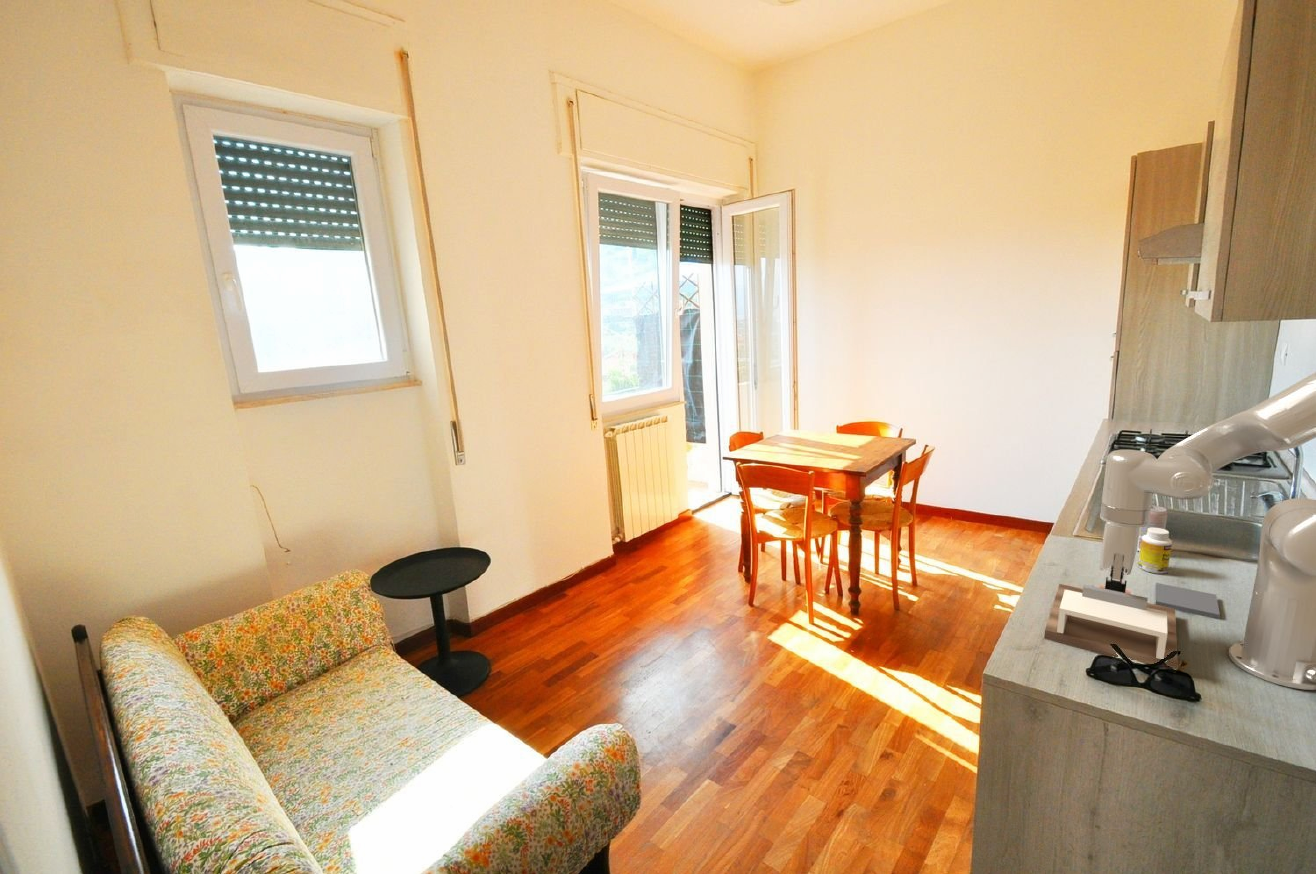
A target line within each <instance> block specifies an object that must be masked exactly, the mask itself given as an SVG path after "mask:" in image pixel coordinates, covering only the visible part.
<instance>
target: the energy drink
mask: <svg viewBox="0 0 1316 874" xmlns="http://www.w3.org/2000/svg"><path fill="white" fill-rule="evenodd" d="M1167 520H1168V511H1167V509H1166V508H1165V507H1163V506H1160V505H1154V504H1151V512H1150V520H1149V525H1148V526H1145V527H1140V532H1139V539H1138V545H1137V550H1136V552H1137V551H1139V552H1140V548H1141V541H1142V537H1143V536H1144V535H1146V534H1147V530H1148V528H1161V529H1165V530H1166V527H1167ZM1139 552H1138V553H1139Z"/></svg>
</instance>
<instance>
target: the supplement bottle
mask: <svg viewBox="0 0 1316 874" xmlns="http://www.w3.org/2000/svg"><path fill="white" fill-rule="evenodd" d="M1169 535H1170V532H1169V530H1168V529H1166V528H1165V529H1161V528H1148V530H1147V534H1146V535H1144V536H1143V537H1142V541H1141V548H1140V553H1139V557H1138V562H1137V564H1138V565H1137V566H1138V568H1140V569H1141V570H1142V571H1145V572H1147V573H1153V574H1166V573H1167V572H1168V570H1169V565H1170V558H1171V552H1172V546H1173V540H1171V539H1170V538H1169V537H1170V536H1169Z"/></svg>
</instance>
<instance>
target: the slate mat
mask: <svg viewBox="0 0 1316 874" xmlns="http://www.w3.org/2000/svg"><path fill="white" fill-rule="evenodd" d="M1155 605H1160V606H1164V607H1169V608H1174V609H1175V611H1180V612H1184V613H1189V614H1194V615H1198V616H1203V617H1208V618H1213V619H1218V620H1220V616H1221V615H1220V609H1219V603H1218V597H1217V594H1214V593H1211V592H1205V591H1200V590H1194V589H1190V588H1185V587H1179V586H1174V585H1171V584H1170V585H1169V584H1165V583H1159V582H1155Z"/></svg>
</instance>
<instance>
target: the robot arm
mask: <svg viewBox="0 0 1316 874" xmlns="http://www.w3.org/2000/svg"><path fill="white" fill-rule="evenodd" d="M1313 439H1316V371H1315V372H1314V373H1312V374H1310V375H1308V376H1307V377H1305V378H1303V379H1301V380H1299V381H1297V382H1296V383H1294V384H1292V385H1290V386H1289V387H1287V388H1285V389H1283V390H1281V391H1280V392H1278V393H1276V394H1274V395H1273V396H1271V397H1269V398H1267V399H1265V400H1263V401H1262V402H1260V403H1257V404H1256V405H1254V406H1253V407H1251V408H1249V409H1247V410H1244V411H1241V412H1238V413H1236V414H1234V415H1232V416H1229V417H1228V418H1226V419H1223V420H1221V421H1218V422H1216V423H1213V424H1211V425H1209V426H1207V427H1205V428H1203V429H1201V430H1198V432H1196V433H1193V434H1192V435H1190V436H1187V438H1184V439H1183V440H1181V441H1179V442H1178V443H1176V444H1174V445H1172V446H1170V447H1169V448H1168V449H1166V450H1164V452H1162V453H1161V454H1160V456H1158V458H1157V457H1156V456H1155V455H1153V454H1152V453H1149V452H1147V451H1143V450H1138V449H1137V450H1136V449H1117V450H1112V451H1110V452H1109V453H1108V455H1107V456H1106V463H1105V470H1104V480H1103V488H1102V495H1101V505H1100V513H1099V518H1100V519H1101V520H1102V521H1104V522H1105V524H1104V529H1103V537H1102V545H1101V553H1100V561H1099V569H1100V570H1102V571H1104V570H1105V571H1107V570H1108V572H1107V573H1108V574H1107V576H1106V579H1105V585H1104V586H1105V589H1108V590H1113V591H1117V592H1122V593H1125V591H1126V590H1127V582H1128V581H1127V580H1126V577H1127V576H1128V575H1130V574H1131V573H1132V569H1133V567H1134V566H1133V565H1134V563H1135V559H1136V554H1137V551H1136V550H1137V545H1138V539H1139V532H1140V527H1145V526H1148V525H1149V520H1150V512H1151V505H1153V504H1152V503H1153V498H1154V496H1153V494H1154V495H1155V494H1156V495H1160V496H1163V497H1168V498H1172V499H1176V500H1183V501H1184V500H1185V501H1192V500H1197V499H1201V498H1204V497H1206V496H1207V495H1208V494H1209V493H1211V491H1212V490H1213V487H1214V484H1215V479H1214V475H1213V473H1214V472H1215V471H1218V470H1219V469H1221V468H1223V467H1225V466H1226V465H1229V464H1231V463H1233V462H1236V461H1238V460H1239V459H1242V458H1245V457H1248V456H1252V455H1254V454H1255V455H1256V454H1258V453H1265V452H1277V451H1285V450H1290V449H1294V448H1298V447H1301V446H1302V445H1304V444H1305V443H1308V442H1310V441H1312V440H1313ZM1259 542H1260V543H1259V555H1258V560H1257V568H1256V572H1255V578H1254V584H1253V589H1252V594H1251V598H1250V599H1251V600H1250V605H1249V608H1248V609H1249V610H1248V611H1249V612H1248V616H1247V621H1246V625H1245V626H1246V627H1245V630H1244V631H1245V632H1244V637H1243V642H1238V643H1234V644H1233V645H1231V646H1230V647H1229V649H1228V650H1229V651H1228V657H1229V658H1230V660H1231V661H1232V662H1233V664H1234V665H1236V666H1238V667H1239V668H1240V669H1242V670H1243V671H1245V672H1247V673H1249V674H1251V675H1252V676H1255V677H1256V678H1259V679H1262V680H1264V681H1267V682H1270V683H1272V684H1276V685H1279V686H1283V687H1287V688H1292V689H1297V690H1298V689H1299V690H1304V691H1307V690H1308V691H1316V499H1311V498H1304V497H1301V498H1300V497H1297V498H1290V499H1286V500H1285V499H1284V500H1283V501H1280V502H1277V503H1275V504H1274V505H1273V506H1272V507H1270V508H1269V510H1268V511H1267V512H1266V513H1265V514H1264V517H1263V519H1262V522H1261V527H1260V541H1259Z"/></svg>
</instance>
